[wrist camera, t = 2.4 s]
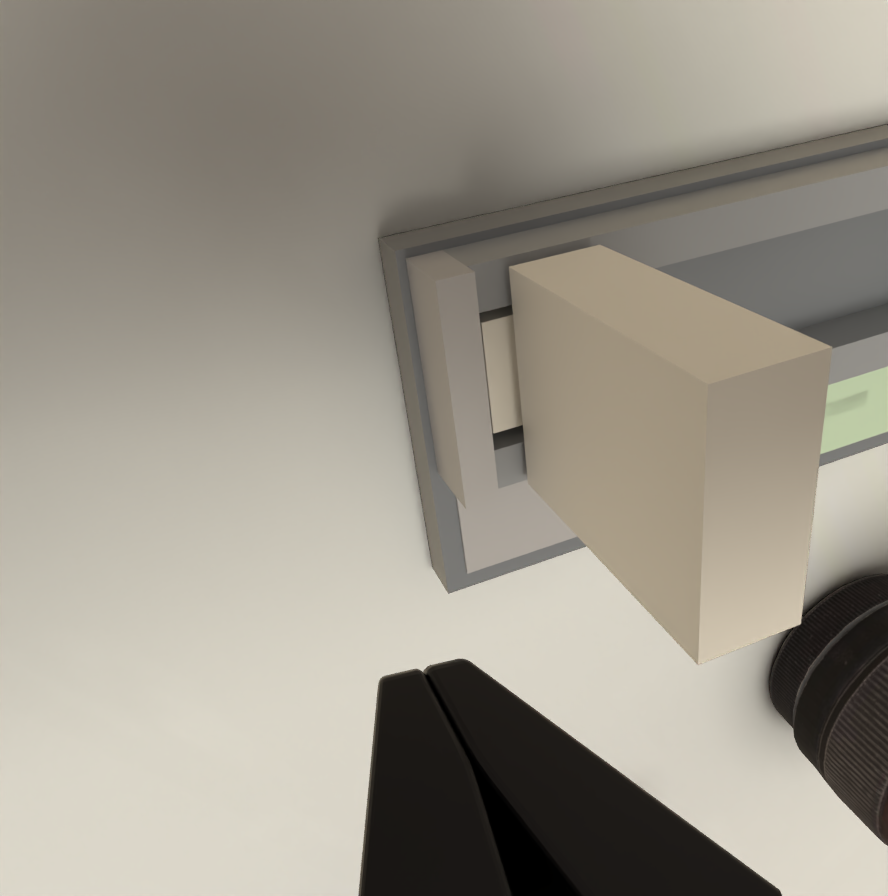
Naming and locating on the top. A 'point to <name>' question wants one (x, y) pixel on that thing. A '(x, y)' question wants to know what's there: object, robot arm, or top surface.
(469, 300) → the switch board
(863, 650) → the camera lens
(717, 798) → the top surface
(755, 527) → the slider tab
